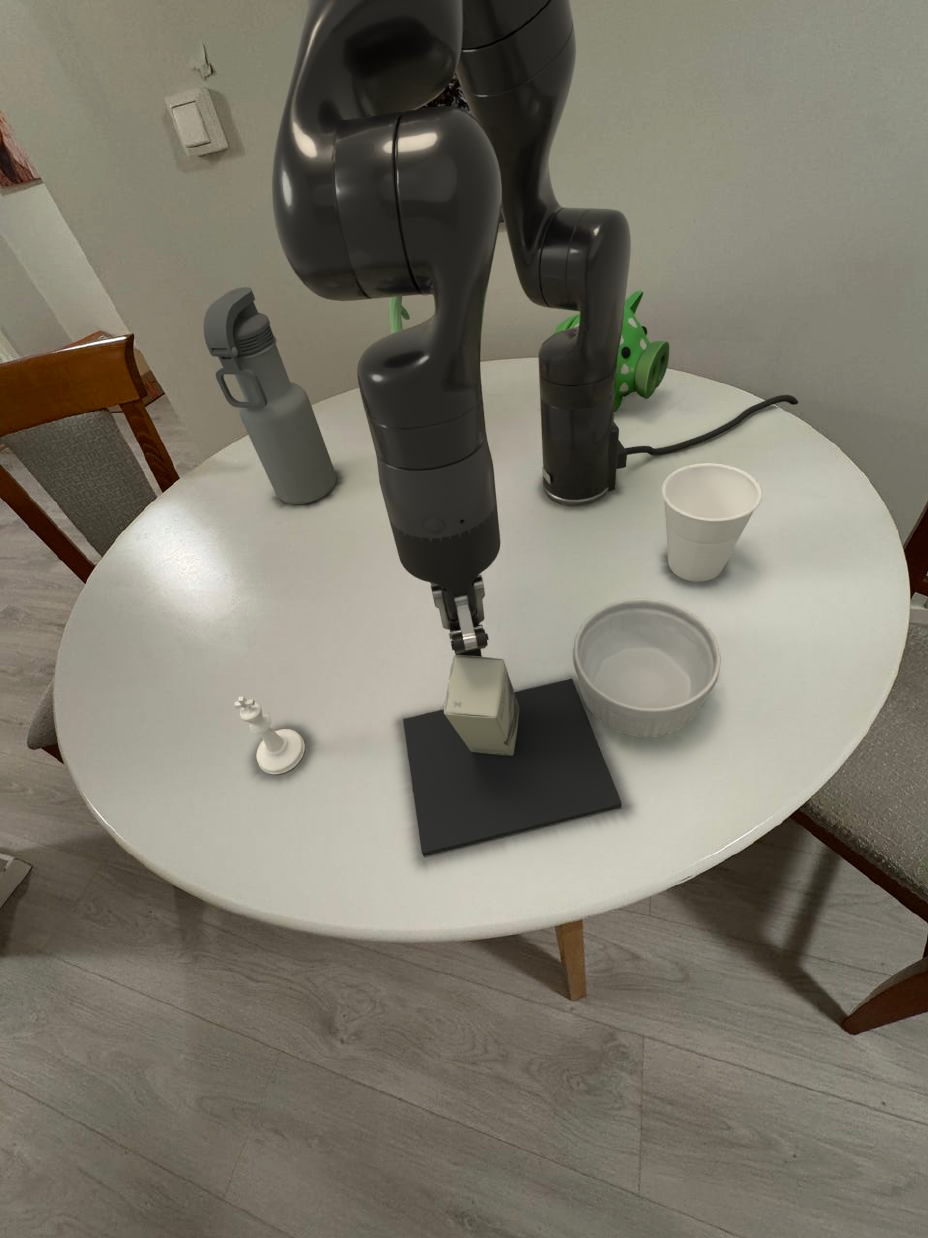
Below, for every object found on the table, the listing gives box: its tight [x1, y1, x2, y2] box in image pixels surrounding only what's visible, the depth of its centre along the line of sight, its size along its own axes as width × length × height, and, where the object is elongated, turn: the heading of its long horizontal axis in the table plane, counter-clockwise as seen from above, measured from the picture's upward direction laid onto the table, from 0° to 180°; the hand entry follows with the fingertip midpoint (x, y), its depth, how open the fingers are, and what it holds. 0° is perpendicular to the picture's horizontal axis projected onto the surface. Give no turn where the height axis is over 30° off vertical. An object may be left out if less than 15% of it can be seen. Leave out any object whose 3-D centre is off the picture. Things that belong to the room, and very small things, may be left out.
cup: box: [661, 462, 763, 583], centre depth 65 cm, size 10×10×11 cm
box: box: [443, 654, 519, 756], centre depth 51 cm, size 5×4×13 cm
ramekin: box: [572, 598, 722, 738], centre depth 56 cm, size 13×13×7 cm
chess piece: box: [234, 696, 306, 775], centre depth 56 cm, size 5×5×10 cm
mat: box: [402, 678, 623, 857], centre depth 56 cm, size 18×14×1 cm
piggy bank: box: [550, 290, 670, 414], centre depth 91 cm, size 14×18×15 cm
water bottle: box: [203, 286, 337, 505], centre depth 81 cm, size 10×10×28 cm
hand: (469, 658), depth 52 cm, fingers closed
